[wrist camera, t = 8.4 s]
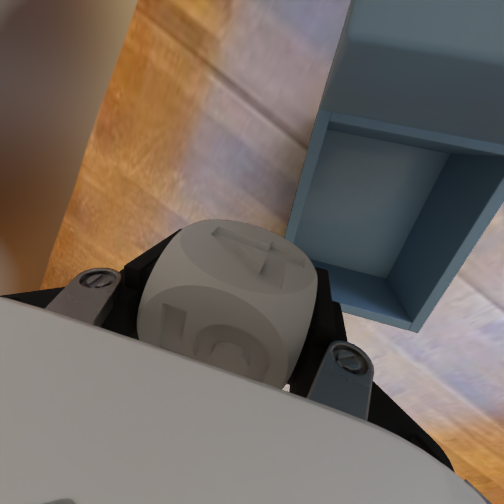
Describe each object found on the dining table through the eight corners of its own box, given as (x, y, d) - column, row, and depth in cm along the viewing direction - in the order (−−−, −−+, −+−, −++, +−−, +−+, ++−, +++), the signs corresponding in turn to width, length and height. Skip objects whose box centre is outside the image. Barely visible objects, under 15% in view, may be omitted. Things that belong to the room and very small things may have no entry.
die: (210, 208, 11) (139, 253, 6) (317, 246, 10) (322, 323, 6) (191, 294, 13) (129, 373, 9) (278, 328, 13) (262, 428, 8)
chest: (388, 283, 30) (418, 333, 22) (279, 254, 31) (269, 291, 23) (460, 145, 23) (541, 145, 15) (316, 117, 24) (320, 103, 16)
